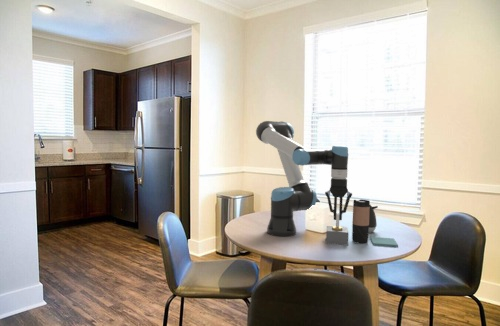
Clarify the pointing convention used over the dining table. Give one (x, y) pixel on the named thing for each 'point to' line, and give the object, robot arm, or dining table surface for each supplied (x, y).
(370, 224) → the pump dispenser
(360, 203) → the travel mug
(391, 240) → the mat
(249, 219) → the dining table surface
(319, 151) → the robot arm
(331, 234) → the block
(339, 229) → the plunger
